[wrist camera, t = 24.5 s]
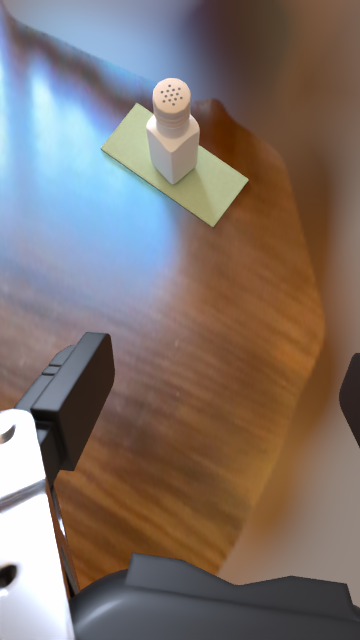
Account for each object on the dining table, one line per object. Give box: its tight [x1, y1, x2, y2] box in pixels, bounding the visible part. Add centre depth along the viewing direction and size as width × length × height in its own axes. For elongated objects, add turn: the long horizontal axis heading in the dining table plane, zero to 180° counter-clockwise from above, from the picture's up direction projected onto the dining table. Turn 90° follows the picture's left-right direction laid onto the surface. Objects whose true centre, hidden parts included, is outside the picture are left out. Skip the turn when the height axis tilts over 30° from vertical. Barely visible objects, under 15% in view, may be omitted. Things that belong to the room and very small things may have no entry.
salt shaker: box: [146, 78, 200, 184], centre depth 29 cm, size 4×4×10 cm
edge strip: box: [101, 103, 249, 228], centre depth 34 cm, size 16×7×1 cm, turn 54°
